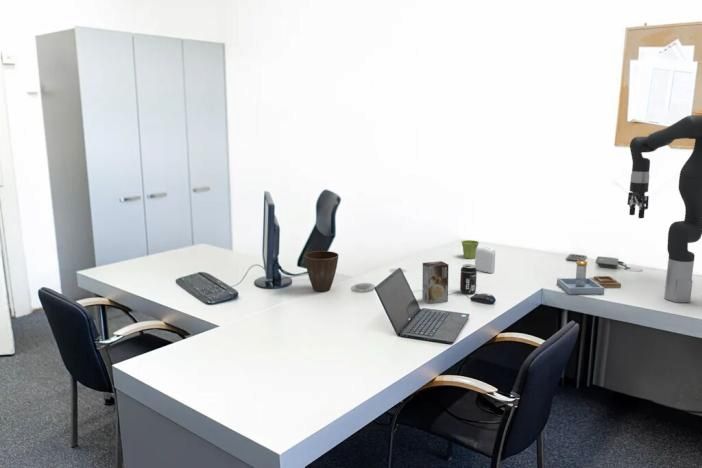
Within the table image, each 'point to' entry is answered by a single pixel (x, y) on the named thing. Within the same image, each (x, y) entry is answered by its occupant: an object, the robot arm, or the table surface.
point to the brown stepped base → (606, 281)
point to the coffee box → (435, 282)
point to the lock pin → (580, 274)
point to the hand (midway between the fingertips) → (636, 216)
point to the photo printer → (485, 259)
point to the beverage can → (468, 279)
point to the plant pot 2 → (469, 248)
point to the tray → (570, 289)
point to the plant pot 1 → (321, 269)
